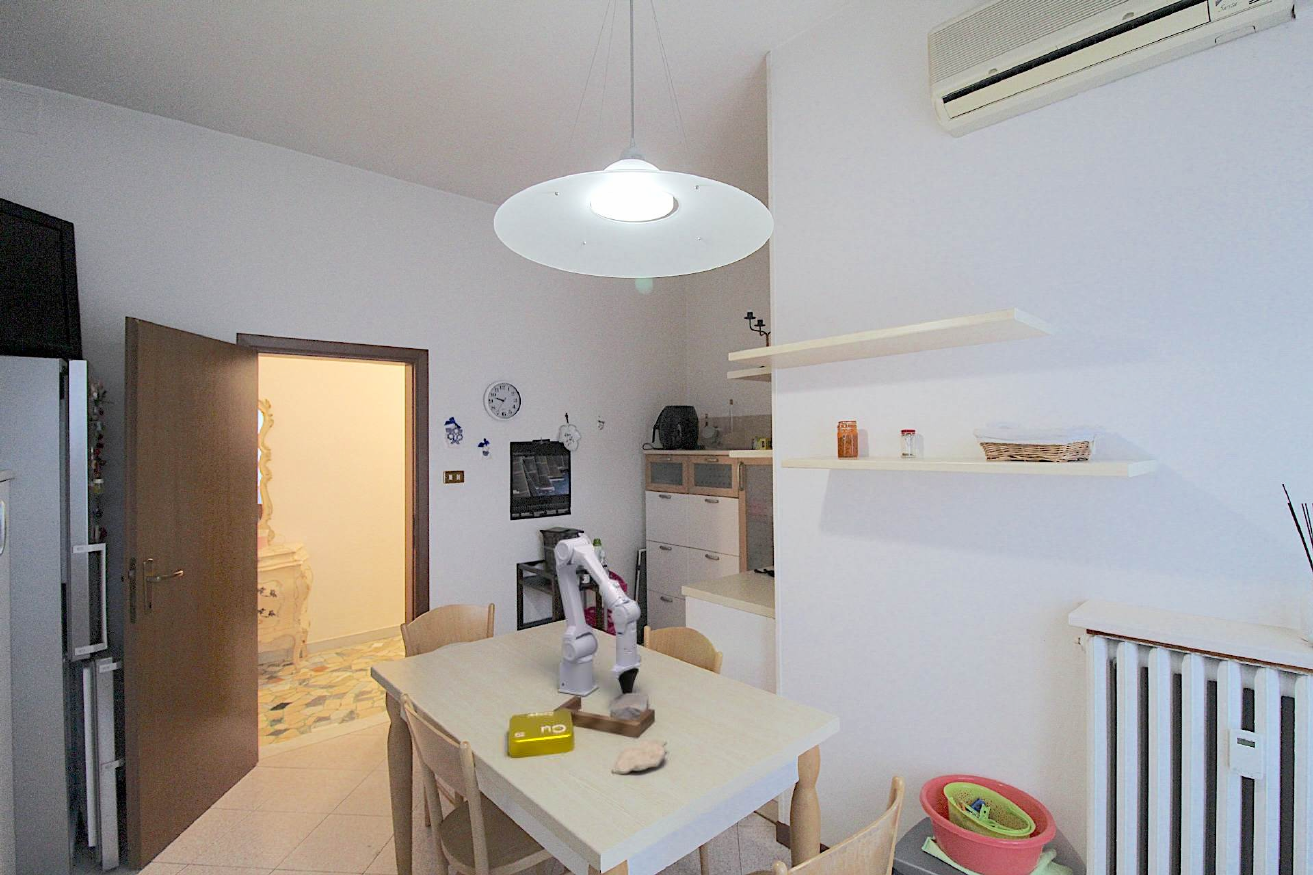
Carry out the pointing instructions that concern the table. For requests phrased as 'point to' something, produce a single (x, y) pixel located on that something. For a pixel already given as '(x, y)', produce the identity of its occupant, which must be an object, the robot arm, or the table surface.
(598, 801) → the table surface
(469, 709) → the table surface
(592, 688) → the robot arm
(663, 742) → the decorative stone
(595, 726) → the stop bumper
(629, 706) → the stone block
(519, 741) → the element tile
